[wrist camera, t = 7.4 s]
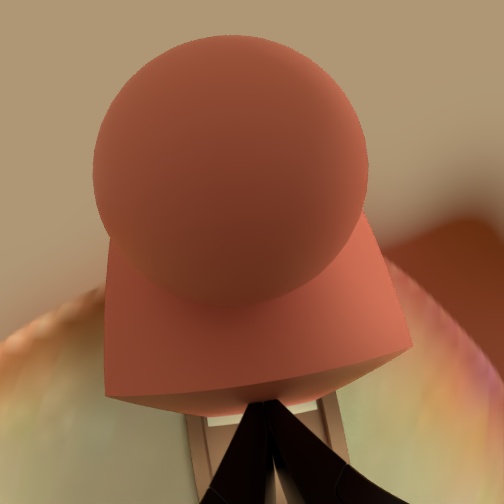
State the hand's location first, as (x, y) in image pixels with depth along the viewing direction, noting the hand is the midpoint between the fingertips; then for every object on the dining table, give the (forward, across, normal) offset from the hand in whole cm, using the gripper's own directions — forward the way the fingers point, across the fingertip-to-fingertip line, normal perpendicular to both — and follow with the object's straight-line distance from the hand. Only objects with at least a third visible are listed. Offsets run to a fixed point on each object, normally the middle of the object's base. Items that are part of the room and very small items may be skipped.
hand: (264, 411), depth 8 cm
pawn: (+7, 0, +3) cm, 7 cm away
